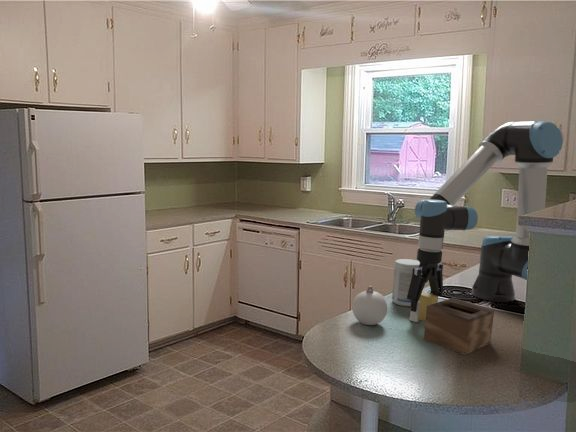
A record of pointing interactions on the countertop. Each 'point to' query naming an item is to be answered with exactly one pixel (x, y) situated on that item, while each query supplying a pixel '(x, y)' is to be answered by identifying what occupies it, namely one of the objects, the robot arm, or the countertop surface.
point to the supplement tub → (403, 280)
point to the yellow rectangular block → (426, 304)
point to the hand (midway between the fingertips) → (423, 317)
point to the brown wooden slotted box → (458, 325)
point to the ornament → (369, 307)
